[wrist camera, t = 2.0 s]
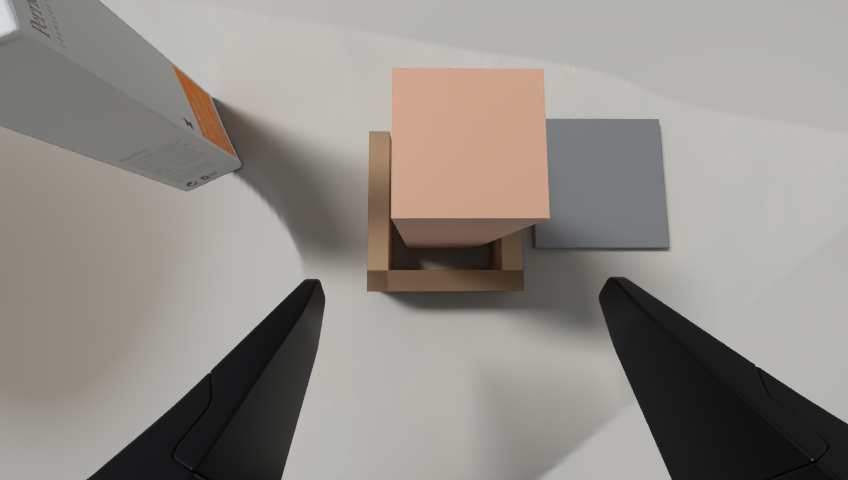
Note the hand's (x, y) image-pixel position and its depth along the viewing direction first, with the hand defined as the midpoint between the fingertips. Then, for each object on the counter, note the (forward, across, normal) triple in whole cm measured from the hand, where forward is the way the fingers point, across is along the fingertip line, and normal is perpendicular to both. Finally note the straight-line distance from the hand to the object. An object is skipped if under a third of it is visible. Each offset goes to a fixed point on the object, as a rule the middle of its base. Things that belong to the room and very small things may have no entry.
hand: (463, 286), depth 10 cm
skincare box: (+15, +17, +1) cm, 22 cm away
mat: (+12, -11, +3) cm, 17 cm away
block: (+11, 0, +5) cm, 12 cm away
